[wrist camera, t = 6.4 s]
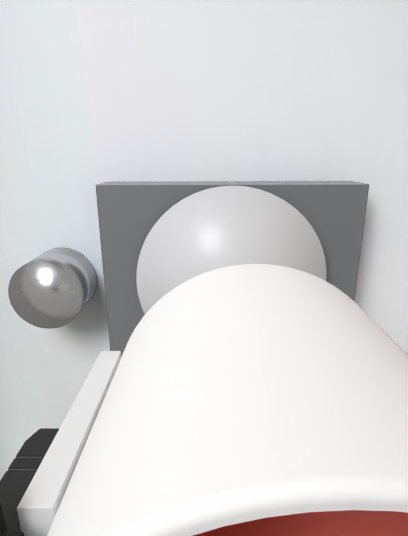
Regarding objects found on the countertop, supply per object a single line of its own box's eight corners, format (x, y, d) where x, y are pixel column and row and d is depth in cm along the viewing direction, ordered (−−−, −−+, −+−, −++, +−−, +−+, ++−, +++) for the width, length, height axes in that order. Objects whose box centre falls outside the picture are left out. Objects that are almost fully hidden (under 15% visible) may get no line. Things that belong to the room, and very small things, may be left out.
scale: (107, 181, 27) (91, 186, 23) (351, 181, 27) (375, 185, 23) (120, 343, 31) (108, 370, 27) (333, 343, 31) (350, 370, 27)
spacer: (29, 247, 29) (2, 261, 25) (93, 247, 29) (76, 261, 25) (39, 306, 30) (14, 328, 26) (99, 306, 30) (84, 328, 26)
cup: (422, 352, 15) (820, 716, 5) (261, 501, 17) (331, 939, 8) (230, 198, 13) (298, 322, 3) (80, 388, 15) (-128, 775, 6)
